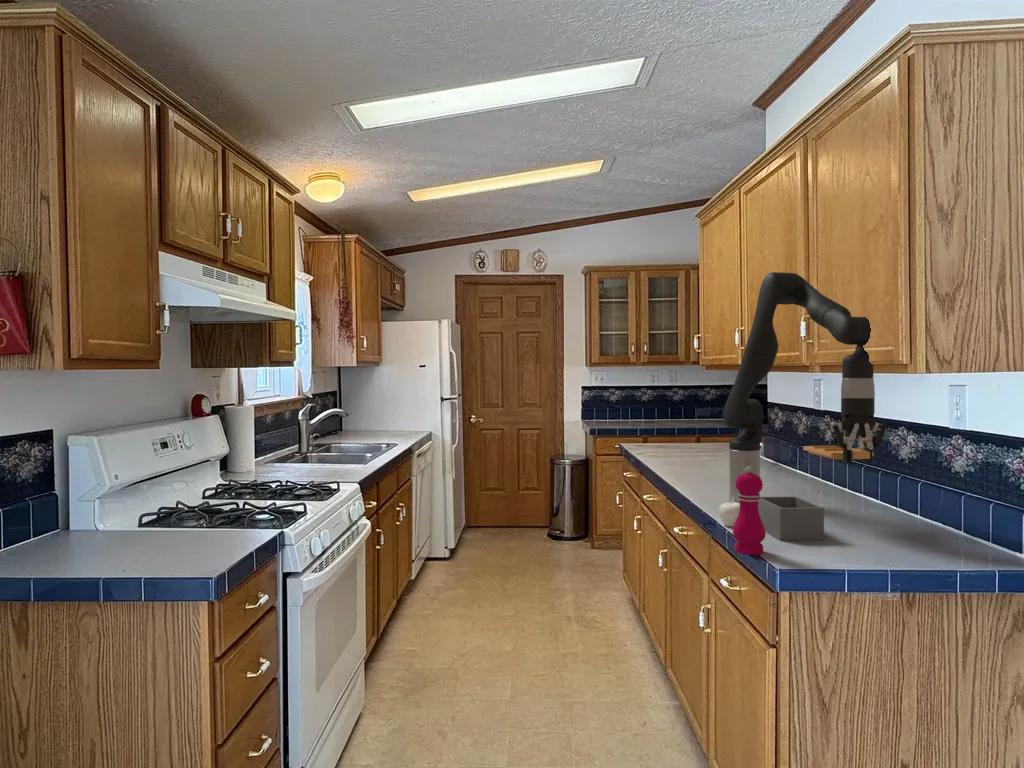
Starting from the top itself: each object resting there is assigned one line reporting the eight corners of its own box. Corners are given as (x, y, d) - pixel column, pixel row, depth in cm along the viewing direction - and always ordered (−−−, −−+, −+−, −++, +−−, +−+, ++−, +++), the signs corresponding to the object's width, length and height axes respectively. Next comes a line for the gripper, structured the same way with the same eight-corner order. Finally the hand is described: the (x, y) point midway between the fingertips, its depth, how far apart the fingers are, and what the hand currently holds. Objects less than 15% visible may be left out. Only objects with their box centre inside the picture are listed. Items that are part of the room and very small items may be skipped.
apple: (725, 528, 184) (725, 499, 183) (714, 523, 191) (714, 494, 190) (750, 528, 184) (750, 498, 184) (739, 522, 191) (739, 493, 191)
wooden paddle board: (803, 452, 191) (803, 443, 191) (842, 452, 191) (842, 442, 191) (840, 462, 170) (840, 451, 170) (883, 461, 171) (883, 451, 171)
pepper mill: (726, 549, 162) (726, 465, 162) (749, 546, 165) (749, 463, 165) (747, 557, 155) (747, 469, 155) (772, 553, 158) (772, 467, 158)
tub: (755, 526, 186) (755, 496, 186) (795, 525, 187) (795, 496, 187) (780, 540, 170) (780, 508, 170) (823, 540, 171) (823, 508, 171)
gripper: (877, 395, 176) (877, 462, 176) (822, 395, 176) (822, 462, 176) (894, 396, 169) (894, 466, 169) (837, 397, 168) (836, 466, 169)
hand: (857, 464), depth 173 cm, fingers closed on wooden paddle board, 4 cm apart
